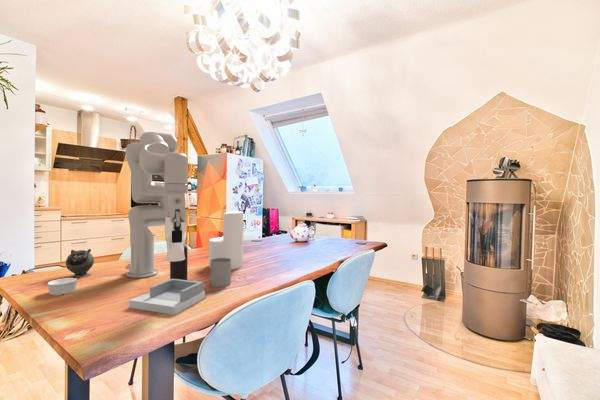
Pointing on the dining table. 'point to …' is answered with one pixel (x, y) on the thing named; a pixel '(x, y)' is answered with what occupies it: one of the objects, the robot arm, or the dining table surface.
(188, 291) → the dock
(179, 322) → the dining table surface
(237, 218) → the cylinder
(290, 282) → the dining table surface
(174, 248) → the beer glass
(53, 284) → the ramekin
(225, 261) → the cup
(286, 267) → the dining table surface
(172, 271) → the bottle
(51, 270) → the dining table surface
